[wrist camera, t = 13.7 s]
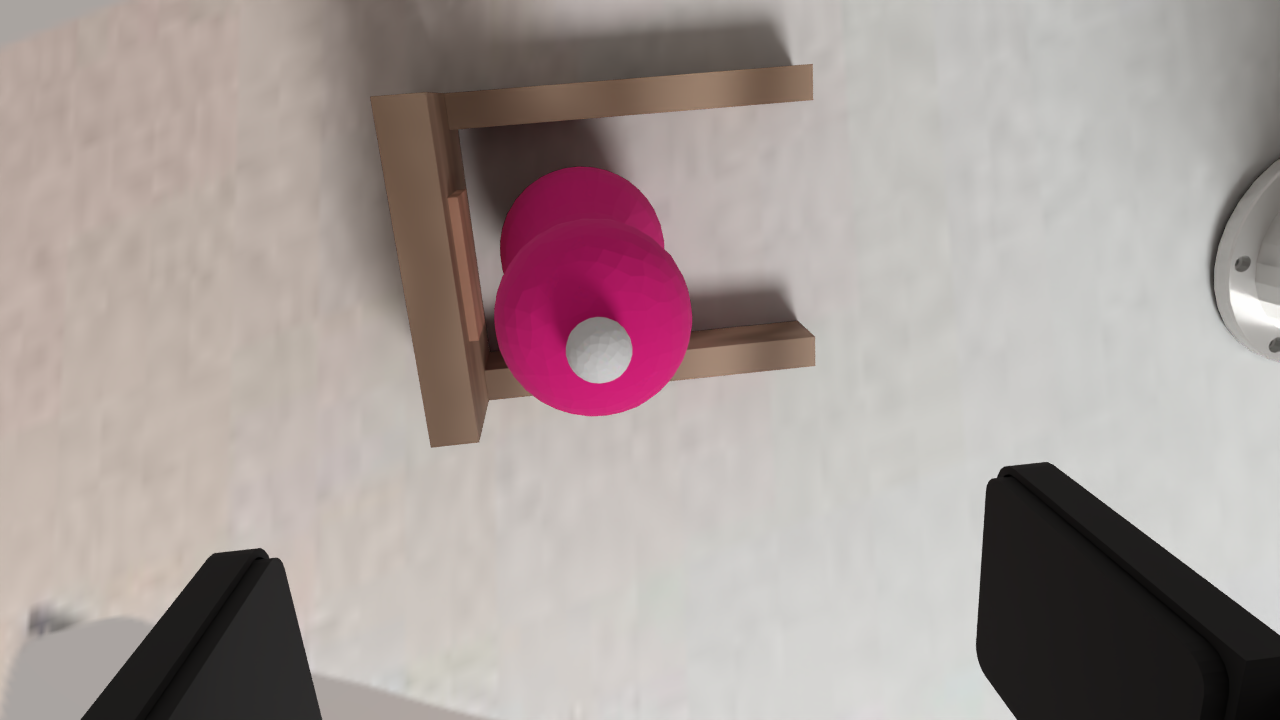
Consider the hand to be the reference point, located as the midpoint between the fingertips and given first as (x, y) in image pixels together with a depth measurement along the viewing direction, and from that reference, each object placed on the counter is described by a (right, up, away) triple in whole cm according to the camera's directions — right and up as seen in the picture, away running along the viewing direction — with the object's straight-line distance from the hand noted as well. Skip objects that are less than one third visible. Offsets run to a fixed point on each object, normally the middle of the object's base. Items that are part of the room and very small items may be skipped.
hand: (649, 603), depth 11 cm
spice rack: (-1, +10, +29) cm, 31 cm away
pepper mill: (-3, +9, +29) cm, 31 cm away
